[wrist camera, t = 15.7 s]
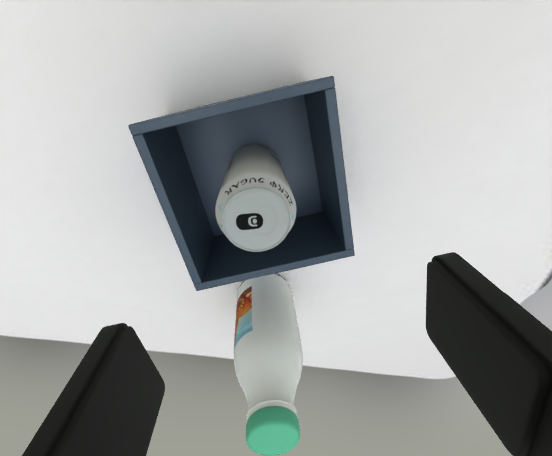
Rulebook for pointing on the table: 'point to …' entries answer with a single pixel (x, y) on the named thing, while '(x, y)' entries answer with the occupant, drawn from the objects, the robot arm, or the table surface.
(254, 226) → the energy drink can
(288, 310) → the milk bottle
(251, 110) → the open storage box
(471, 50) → the table surface
